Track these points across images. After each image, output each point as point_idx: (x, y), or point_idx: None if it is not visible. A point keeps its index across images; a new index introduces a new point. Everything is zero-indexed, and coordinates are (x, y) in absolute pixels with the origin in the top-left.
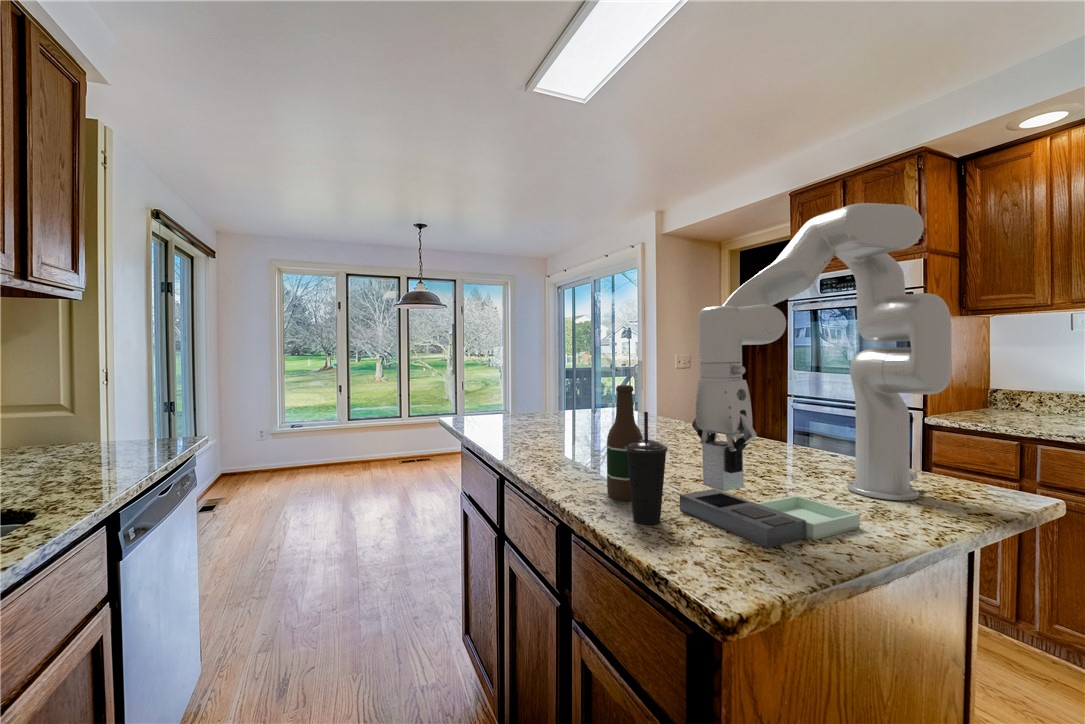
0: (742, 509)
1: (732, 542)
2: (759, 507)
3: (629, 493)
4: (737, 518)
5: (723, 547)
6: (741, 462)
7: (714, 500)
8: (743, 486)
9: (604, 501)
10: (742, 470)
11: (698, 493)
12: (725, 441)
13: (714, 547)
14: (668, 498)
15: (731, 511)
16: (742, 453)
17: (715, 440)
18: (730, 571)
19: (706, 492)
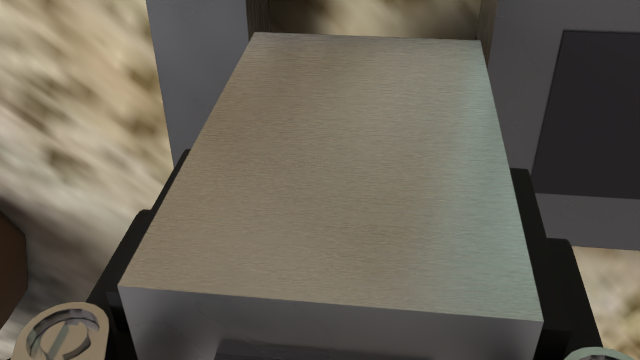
0: (571, 143)
1: (626, 262)
2: (617, 9)
3: (11, 293)
4: (620, 245)
5: (629, 315)
6: (576, 274)
7: (256, 27)
8: (480, 43)
9: (12, 333)
10: (493, 119)
11: (196, 117)
12: (215, 311)
13: (605, 336)
14: (13, 90)
15: (544, 206)
16: (523, 235)
17: (109, 356)
18: None
19: (194, 59)
